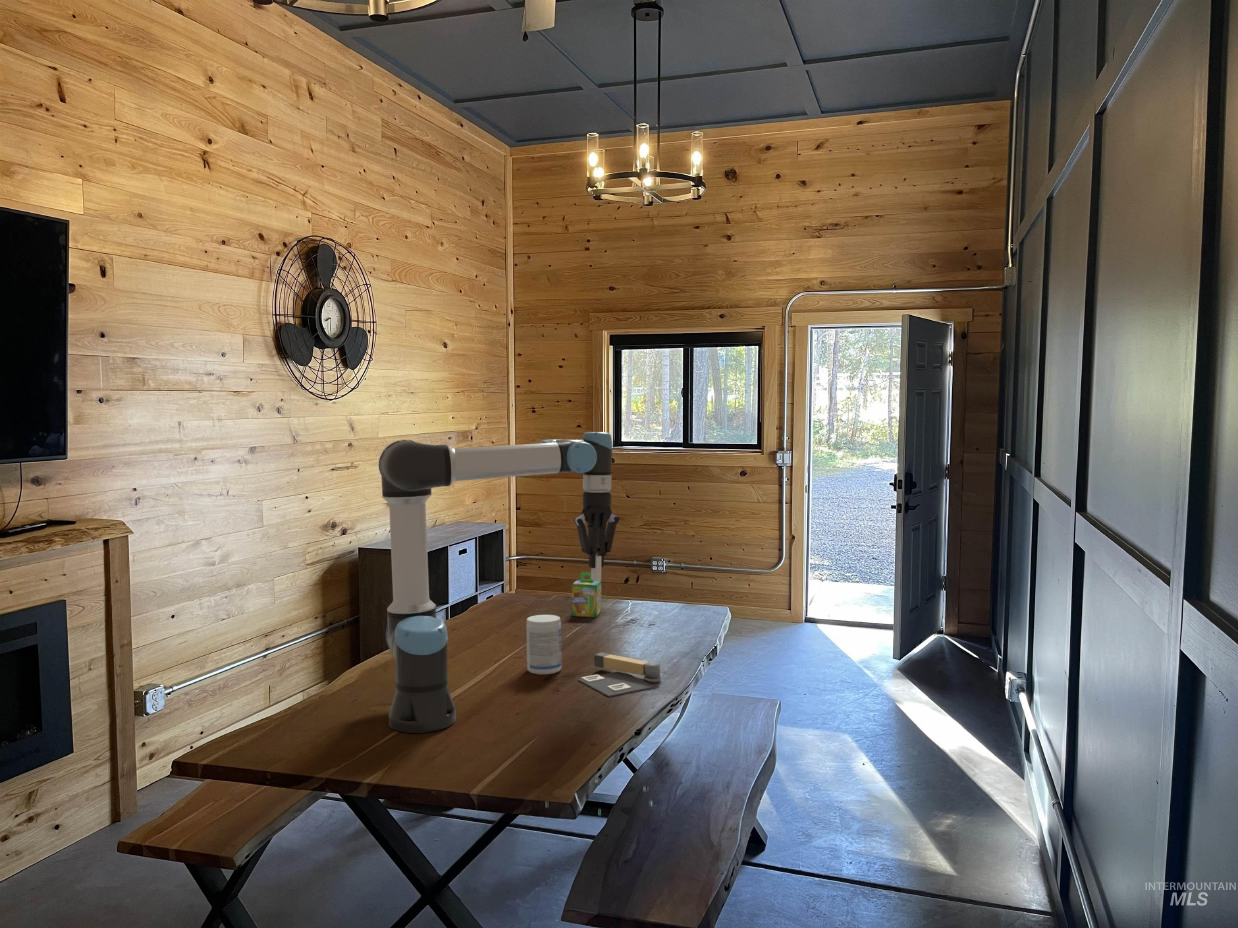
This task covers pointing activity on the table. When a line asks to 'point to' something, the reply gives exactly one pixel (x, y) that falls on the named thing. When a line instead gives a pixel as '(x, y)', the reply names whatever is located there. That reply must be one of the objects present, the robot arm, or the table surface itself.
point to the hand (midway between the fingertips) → (596, 579)
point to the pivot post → (652, 680)
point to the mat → (617, 679)
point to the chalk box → (586, 597)
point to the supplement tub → (543, 644)
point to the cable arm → (627, 665)
